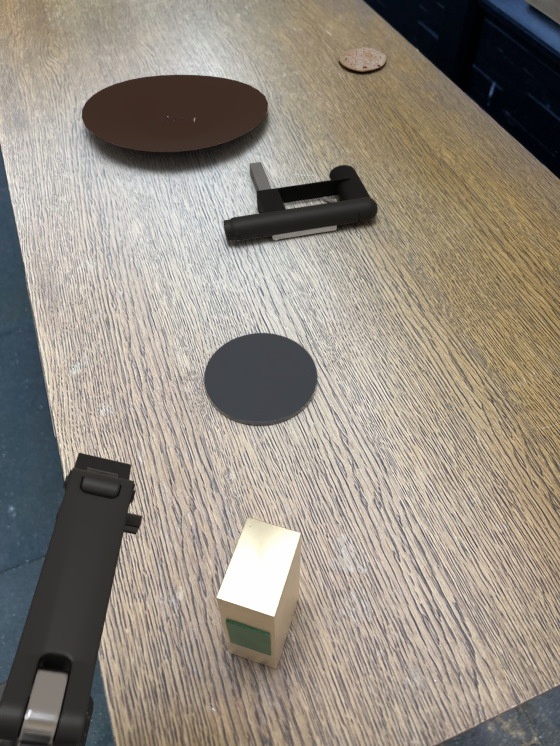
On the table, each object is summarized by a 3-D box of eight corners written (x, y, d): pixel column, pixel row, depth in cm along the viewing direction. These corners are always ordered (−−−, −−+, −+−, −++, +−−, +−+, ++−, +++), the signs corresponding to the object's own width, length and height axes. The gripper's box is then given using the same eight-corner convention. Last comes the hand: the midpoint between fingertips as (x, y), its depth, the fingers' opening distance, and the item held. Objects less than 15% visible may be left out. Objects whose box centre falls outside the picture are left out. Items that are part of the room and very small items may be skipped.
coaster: (181, 375, 69) (181, 372, 69) (266, 319, 74) (265, 316, 74) (254, 446, 64) (254, 443, 63) (340, 381, 69) (340, 378, 68)
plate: (277, 78, 108) (277, 56, 105) (257, 180, 91) (256, 157, 88) (112, 71, 110) (107, 49, 107) (62, 169, 93) (55, 146, 90)
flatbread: (351, 77, 108) (351, 71, 107) (332, 56, 112) (332, 50, 111) (394, 67, 109) (395, 61, 109) (374, 47, 114) (374, 42, 113)
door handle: (207, 164, 89) (227, 233, 78) (347, 144, 92) (384, 208, 81) (209, 185, 91) (229, 255, 81) (345, 165, 94) (382, 230, 84)
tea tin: (254, 582, 56) (247, 516, 45) (299, 597, 55) (301, 532, 45) (229, 655, 52) (214, 600, 42) (276, 671, 51) (273, 619, 41)
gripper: (-9, 1396, 19) (86, 764, 39) (252, 713, 13) (205, 382, 33) (-305, 1427, 17) (-46, 748, 37) (-161, 653, 11) (54, 342, 31)
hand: (72, 576), depth 35 cm, fingers open, 13 cm apart
